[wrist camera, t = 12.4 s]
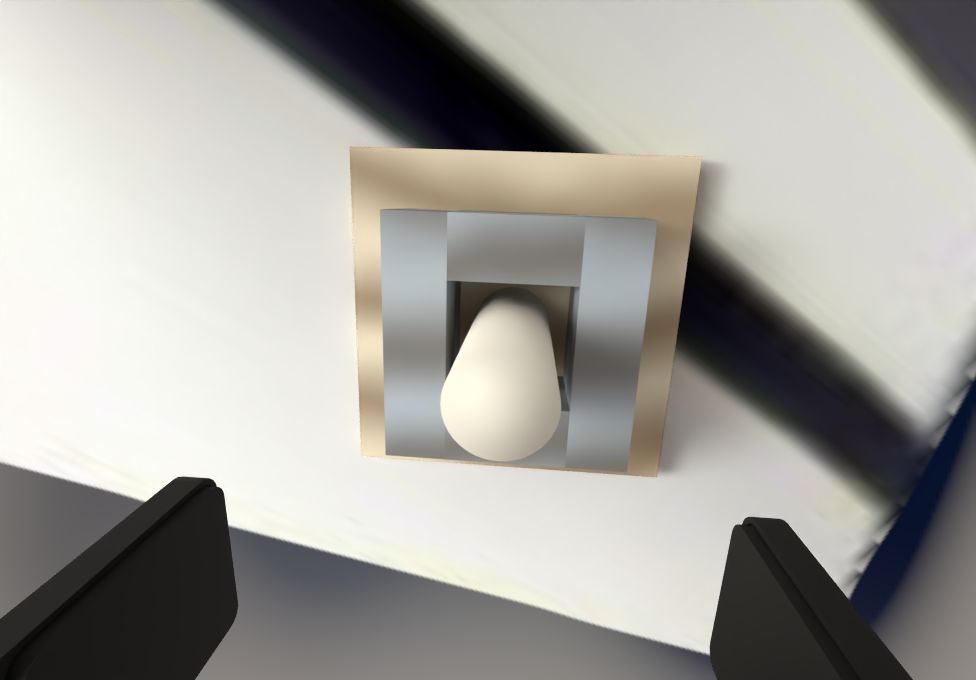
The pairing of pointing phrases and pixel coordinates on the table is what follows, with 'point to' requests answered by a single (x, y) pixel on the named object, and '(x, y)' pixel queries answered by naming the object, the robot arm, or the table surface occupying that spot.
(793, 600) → the robot arm
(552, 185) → the socket board
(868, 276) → the table surface
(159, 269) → the table surface
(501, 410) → the peg
